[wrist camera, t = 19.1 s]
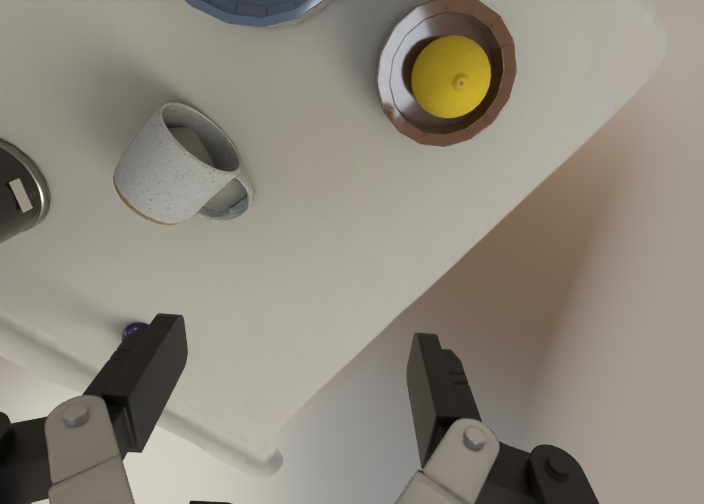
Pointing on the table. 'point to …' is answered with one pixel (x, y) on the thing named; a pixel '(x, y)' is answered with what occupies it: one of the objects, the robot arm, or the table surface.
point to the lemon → (451, 76)
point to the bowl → (260, 11)
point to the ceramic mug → (179, 168)
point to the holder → (409, 41)
